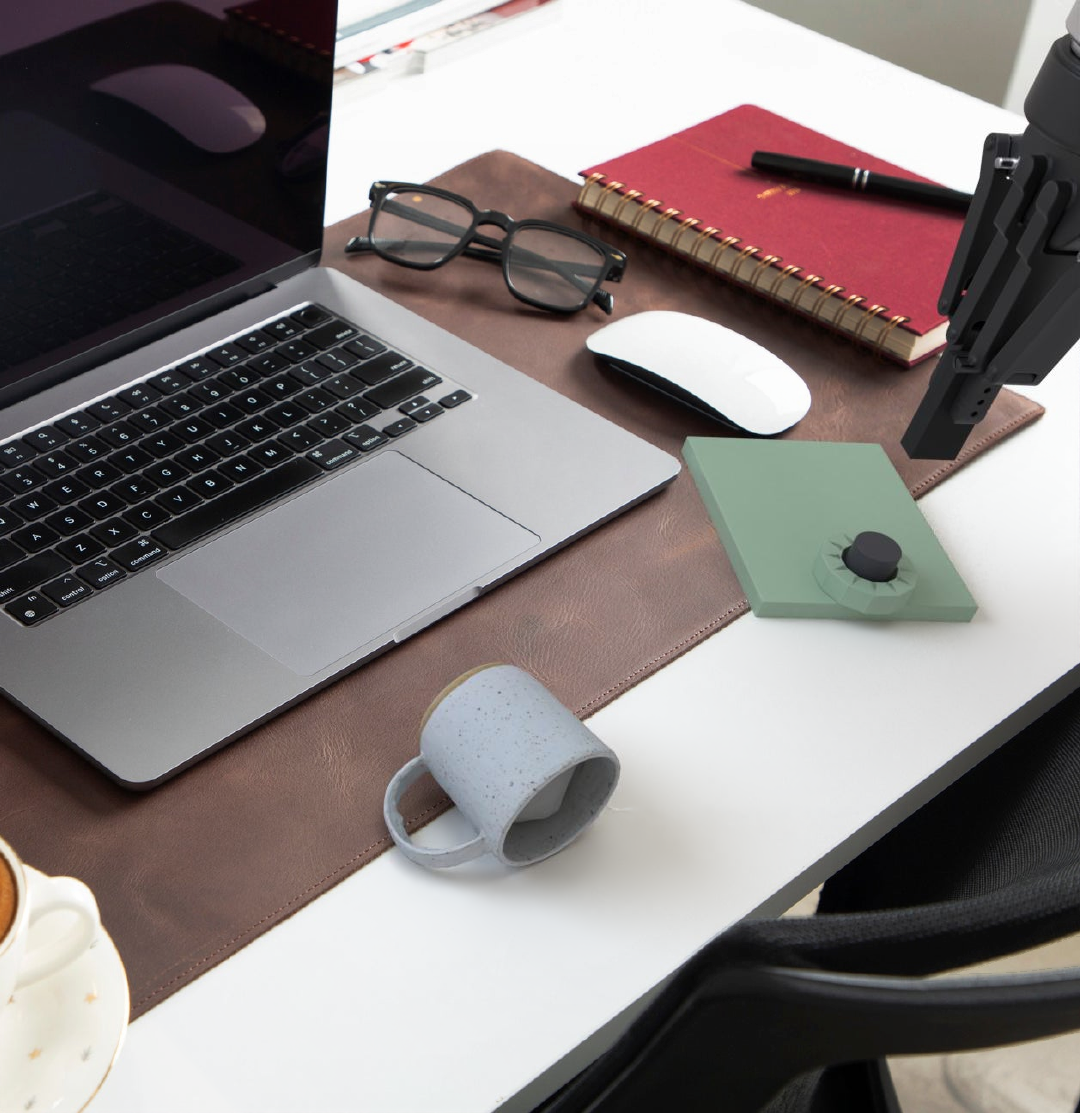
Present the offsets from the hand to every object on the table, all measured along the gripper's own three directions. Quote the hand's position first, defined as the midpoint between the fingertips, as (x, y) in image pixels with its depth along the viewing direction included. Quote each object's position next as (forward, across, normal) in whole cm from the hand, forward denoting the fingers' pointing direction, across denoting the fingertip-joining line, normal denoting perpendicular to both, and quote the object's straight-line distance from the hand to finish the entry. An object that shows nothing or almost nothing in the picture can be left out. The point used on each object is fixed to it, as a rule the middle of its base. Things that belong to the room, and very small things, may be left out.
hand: (927, 451), depth 83 cm
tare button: (+9, 0, 0) cm, 9 cm away
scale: (+12, -6, 0) cm, 13 cm away
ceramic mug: (+12, +17, -27) cm, 34 cm away
